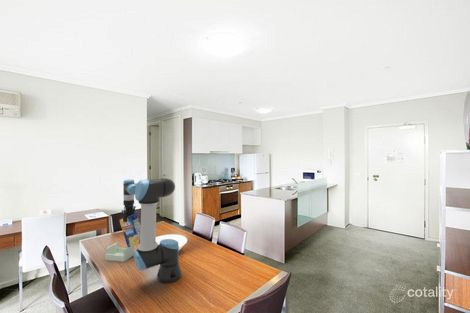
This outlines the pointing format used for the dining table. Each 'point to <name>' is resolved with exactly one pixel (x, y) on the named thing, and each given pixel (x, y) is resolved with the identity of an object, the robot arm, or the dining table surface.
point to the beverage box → (131, 230)
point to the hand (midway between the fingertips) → (128, 229)
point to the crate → (118, 253)
